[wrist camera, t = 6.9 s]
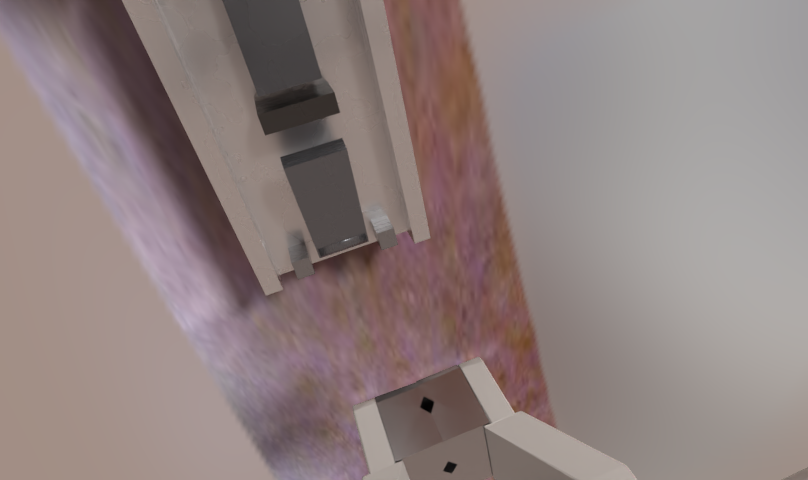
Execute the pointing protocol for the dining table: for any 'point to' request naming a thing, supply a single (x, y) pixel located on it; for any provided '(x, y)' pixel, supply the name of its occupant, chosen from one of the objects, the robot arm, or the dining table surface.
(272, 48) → the strap
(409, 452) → the robot arm
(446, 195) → the dining table surface
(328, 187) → the strap
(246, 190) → the fuse holder
